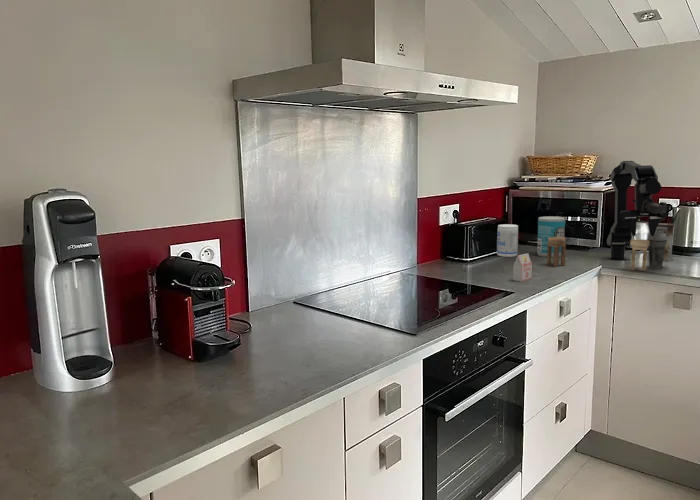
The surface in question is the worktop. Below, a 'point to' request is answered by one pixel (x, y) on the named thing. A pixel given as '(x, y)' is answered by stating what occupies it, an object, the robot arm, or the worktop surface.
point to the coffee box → (668, 232)
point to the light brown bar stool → (639, 245)
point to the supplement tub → (507, 240)
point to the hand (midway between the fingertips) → (643, 235)
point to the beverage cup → (657, 249)
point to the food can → (549, 233)
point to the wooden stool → (556, 250)
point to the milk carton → (522, 268)
